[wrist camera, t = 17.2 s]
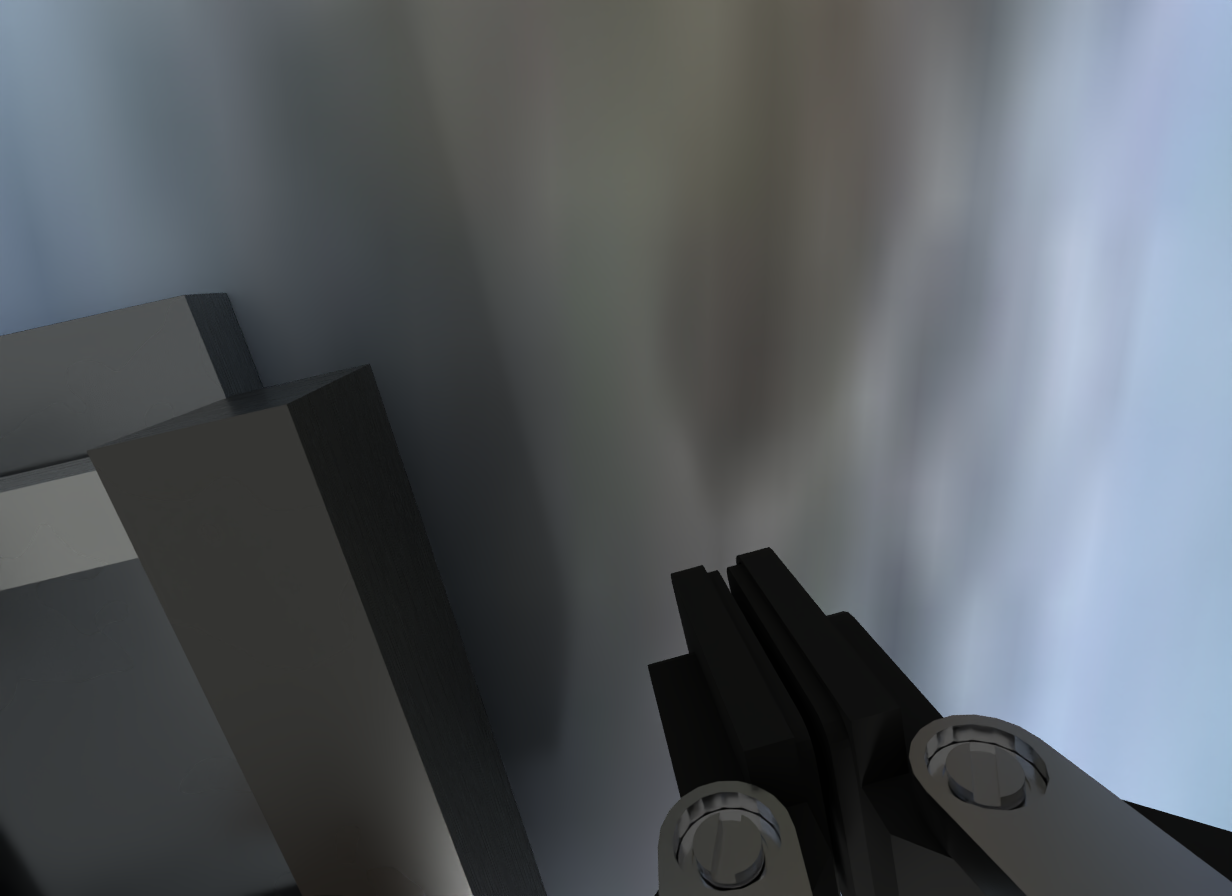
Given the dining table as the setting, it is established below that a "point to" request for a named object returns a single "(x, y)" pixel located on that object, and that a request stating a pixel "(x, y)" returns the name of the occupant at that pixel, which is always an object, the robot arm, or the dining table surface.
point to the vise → (116, 640)
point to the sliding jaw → (302, 628)
